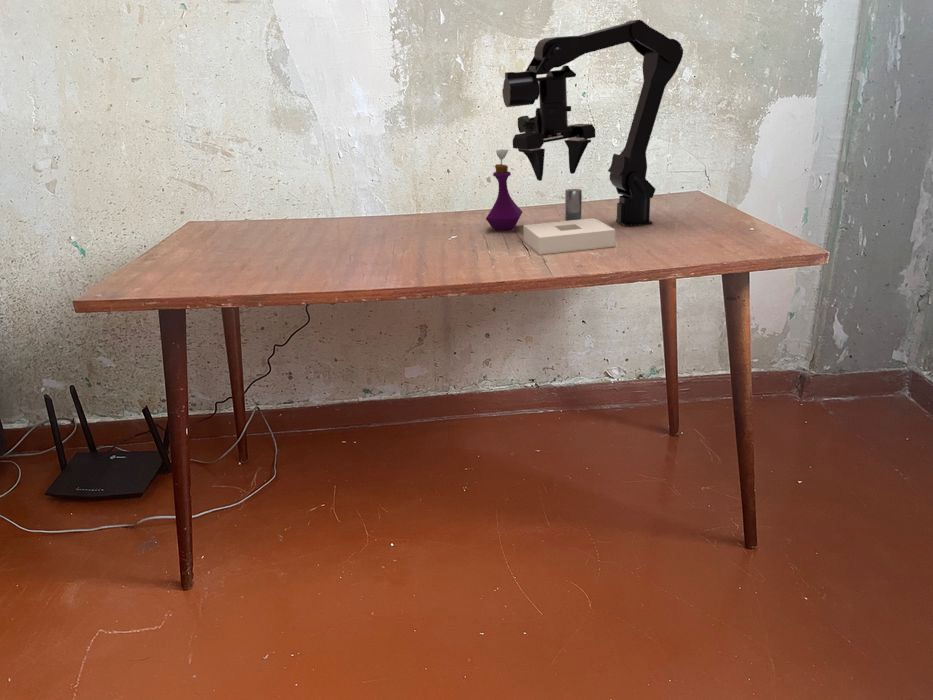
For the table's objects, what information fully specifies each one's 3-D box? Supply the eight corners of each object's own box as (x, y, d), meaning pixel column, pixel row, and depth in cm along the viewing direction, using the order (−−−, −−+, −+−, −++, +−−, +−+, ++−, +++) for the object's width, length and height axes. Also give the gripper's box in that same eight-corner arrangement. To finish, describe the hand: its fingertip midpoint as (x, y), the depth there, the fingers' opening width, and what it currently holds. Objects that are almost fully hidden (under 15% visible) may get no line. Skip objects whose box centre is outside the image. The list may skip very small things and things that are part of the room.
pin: (578, 227, 162) (578, 188, 158) (583, 231, 159) (583, 190, 155) (563, 229, 161) (563, 189, 158) (568, 232, 158) (568, 192, 155)
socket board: (593, 233, 156) (594, 218, 155) (614, 246, 145) (615, 229, 144) (523, 241, 153) (523, 225, 152) (539, 254, 143) (539, 237, 141)
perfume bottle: (518, 232, 161) (516, 151, 154) (486, 232, 163) (482, 152, 156) (522, 225, 168) (520, 147, 161) (491, 225, 169) (488, 148, 162)
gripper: (562, 97, 160) (565, 167, 166) (495, 107, 151) (500, 180, 157) (596, 97, 151) (597, 171, 157) (526, 107, 142) (530, 185, 148)
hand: (556, 176), depth 155 cm, fingers open, 9 cm apart
